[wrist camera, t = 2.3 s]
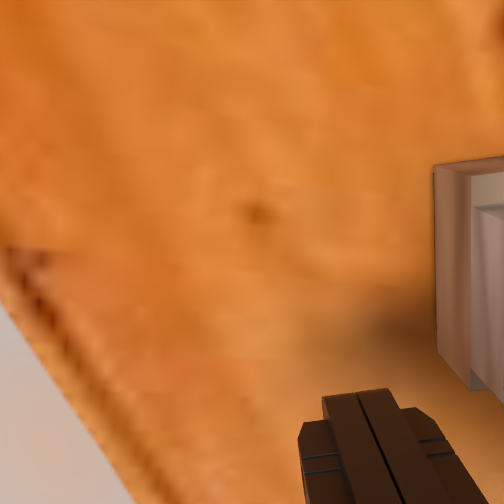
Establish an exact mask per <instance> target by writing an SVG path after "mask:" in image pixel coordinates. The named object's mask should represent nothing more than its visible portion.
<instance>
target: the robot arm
mask: <svg viewBox="0 0 504 504" xmlns="http://www.w3.org/2000/svg"><path fill="white" fill-rule="evenodd" d="M322 409H323V419H324V420H319V421H311V422H304V423H303V426H302V428H301V431H300V434H299V436H298V448H299V456H300V464H301V472H302V480H303V489H304V496H305V501H306V504H489V503H488V502H487V500H486V499H485V497H484V496H483V494H482V493H481V491H480V489H479V488H478V486H477V485H476V483H475V482H474V480H473V479H472V477H471V476H470V474H469V473H468V471H467V470H466V468H465V467H464V465H463V463H462V462H461V460H460V459H459V457H458V456H457V455H455V451H454V450H453V448H452V447H451V445H450V444H449V442H448V441H446V439H445V436H444V434H443V433H442V431H441V430H440V428H439V427H438V425H437V424H436V422H435V421H434V420H433V419H432V418H430V417H429V416H427V415H426V414H425V413H423V412H422V411H420V410H419V409H417V408H416V407H414V408H406V409H400V408H399V406H398V405H397V403H396V401H395V399H394V397H393V396H392V394H391V392H390V391H389V389H388V388H382V389H375V390H367V391H360V392H355V394H354V393H346V394H339V395H331V396H324V397H322Z"/></svg>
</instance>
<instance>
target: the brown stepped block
mask: <svg viewBox="0 0 504 504" xmlns="http://www.w3.org/2000/svg"><path fill="white" fill-rule="evenodd" d="M433 177H434V233H435V288H436V331H437V352H438V353H439V354H440V356H441V357H442V358H443V359H444V360H445V362H446V363H447V364H448V365H449V366H450V368H451V369H452V370H453V371H454V372H455V374H456V375H457V376H458V377H459V378H460V380H461V381H462V382H463V383H464V384H465V386H466V387H467V388H468V389H469V390H470V391H477V390H484V389H490V390H491V391H492V392H493V393H494V394H495V395H496V396H497V398H498V399H499V400H500V401H501V402H502V403H504V156H500V157H493V158H485V159H478V160H470V161H463V162H455V163H448V164H441V165H434V173H433Z"/></svg>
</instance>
